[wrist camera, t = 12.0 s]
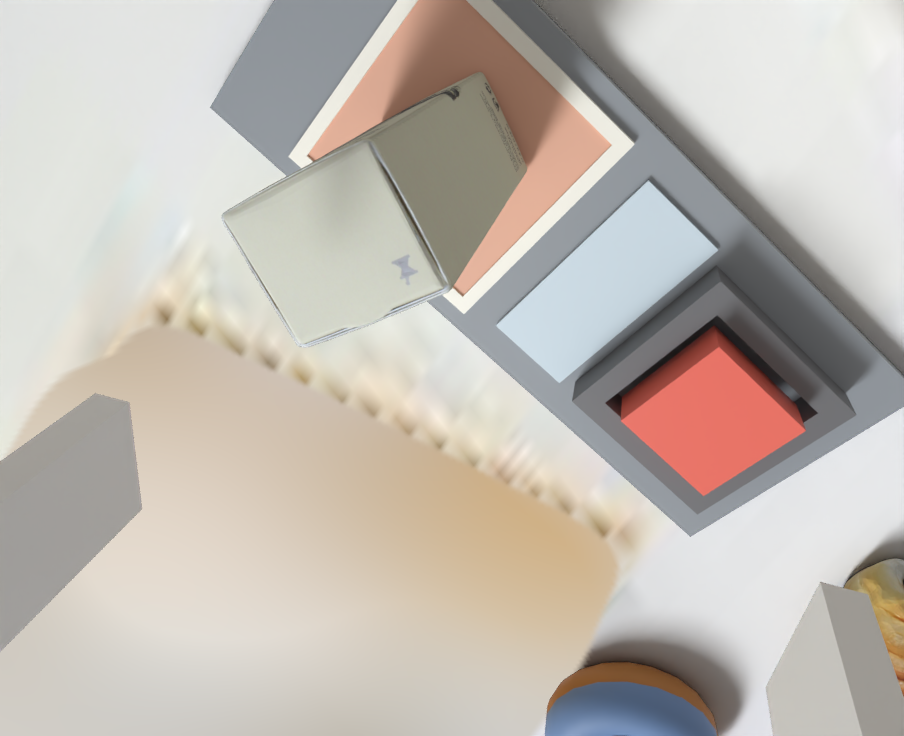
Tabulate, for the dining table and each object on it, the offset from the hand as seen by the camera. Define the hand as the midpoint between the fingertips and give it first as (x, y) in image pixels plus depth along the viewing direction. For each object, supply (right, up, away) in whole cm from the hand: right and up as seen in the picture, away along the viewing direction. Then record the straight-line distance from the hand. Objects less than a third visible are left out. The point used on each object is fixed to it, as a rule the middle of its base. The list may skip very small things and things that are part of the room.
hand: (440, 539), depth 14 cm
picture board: (+5, +9, +17) cm, 20 cm away
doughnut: (+11, -17, +30) cm, 37 cm away
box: (0, +12, +16) cm, 20 cm away
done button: (+11, +2, +17) cm, 20 cm away
